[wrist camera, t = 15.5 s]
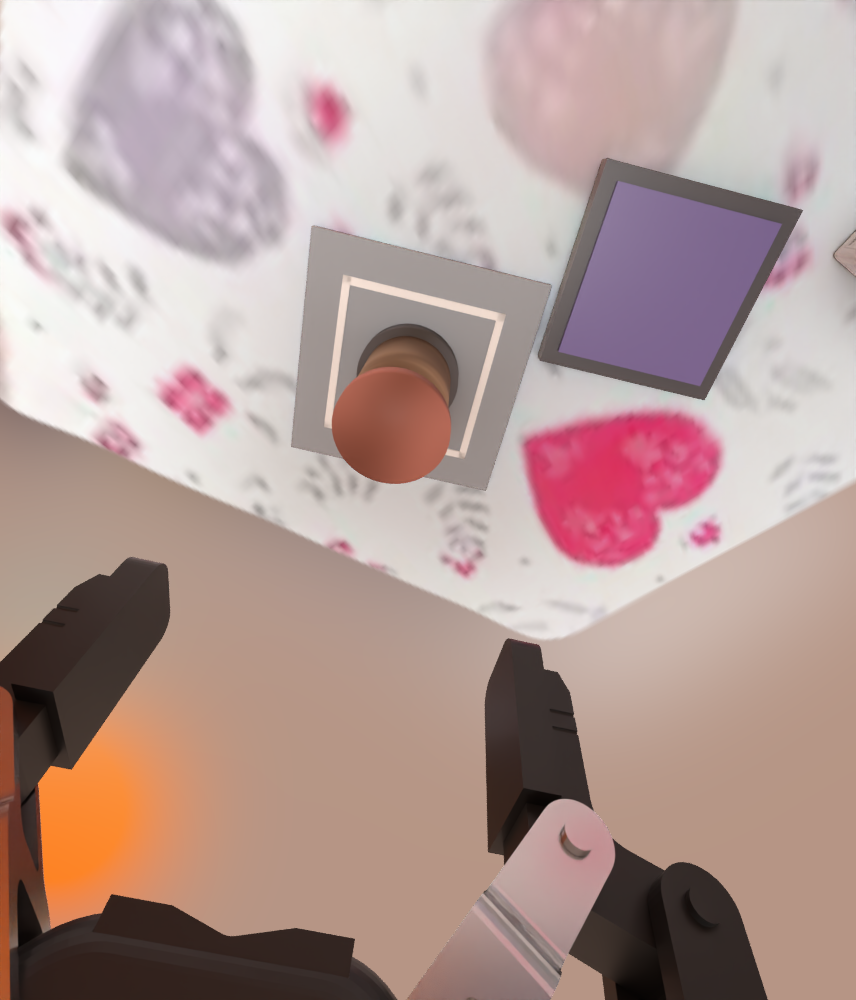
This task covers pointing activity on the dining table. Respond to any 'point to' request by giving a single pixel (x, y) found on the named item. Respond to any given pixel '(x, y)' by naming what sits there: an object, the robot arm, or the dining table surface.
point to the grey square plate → (423, 301)
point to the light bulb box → (848, 254)
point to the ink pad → (662, 278)
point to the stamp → (398, 405)
